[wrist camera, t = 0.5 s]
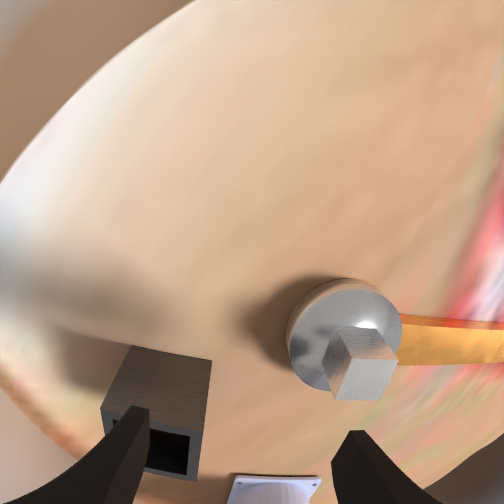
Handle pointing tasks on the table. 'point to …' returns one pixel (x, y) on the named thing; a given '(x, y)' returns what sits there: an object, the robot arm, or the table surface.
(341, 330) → the ratchet
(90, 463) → the robot arm
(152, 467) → the hollow square tube
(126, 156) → the table surface
